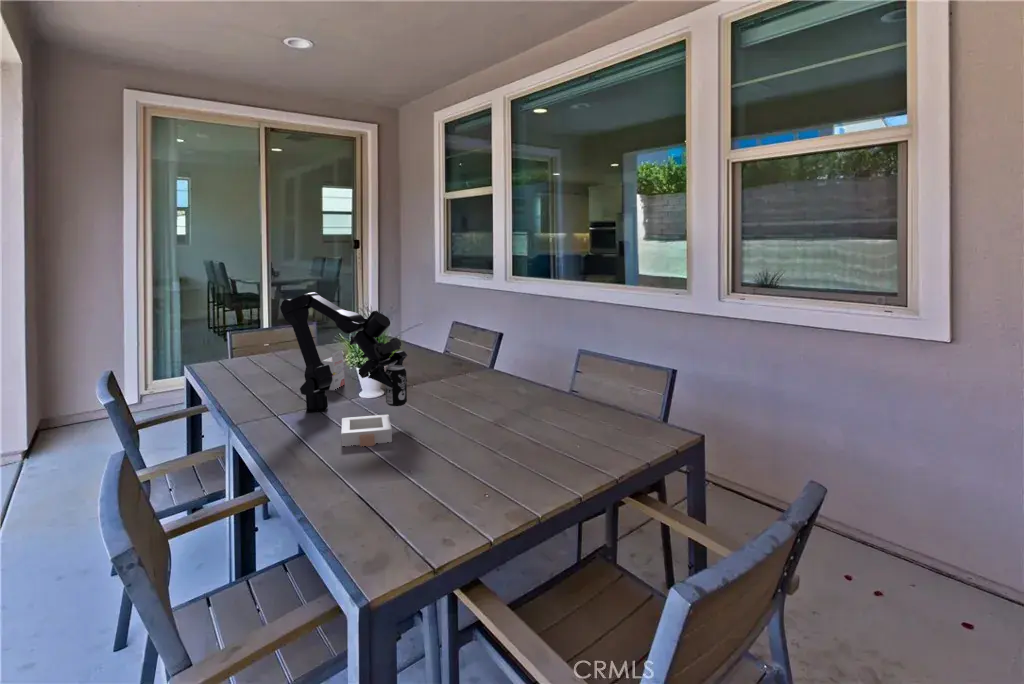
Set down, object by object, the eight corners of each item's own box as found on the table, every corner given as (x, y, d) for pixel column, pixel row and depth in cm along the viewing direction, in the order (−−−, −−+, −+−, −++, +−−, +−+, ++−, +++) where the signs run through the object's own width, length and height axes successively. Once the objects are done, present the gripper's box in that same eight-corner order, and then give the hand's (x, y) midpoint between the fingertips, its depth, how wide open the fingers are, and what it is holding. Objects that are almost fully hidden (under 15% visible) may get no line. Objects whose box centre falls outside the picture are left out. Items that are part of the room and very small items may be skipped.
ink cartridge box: (333, 384, 223) (332, 348, 220) (345, 385, 222) (343, 349, 219) (322, 390, 215) (320, 353, 212) (334, 390, 214) (332, 353, 211)
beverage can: (409, 401, 179) (408, 365, 176) (404, 407, 172) (403, 370, 170) (389, 400, 179) (388, 364, 177) (383, 406, 173) (382, 369, 170)
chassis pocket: (341, 448, 156) (341, 435, 155) (342, 430, 170) (342, 418, 170) (392, 444, 159) (392, 430, 159) (388, 426, 174) (388, 414, 173)
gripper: (364, 335, 164) (396, 375, 162) (402, 326, 181) (430, 362, 179) (345, 358, 169) (375, 397, 167) (383, 347, 186) (410, 383, 183)
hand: (399, 384), depth 174 cm, fingers closed on beverage can, 7 cm apart
